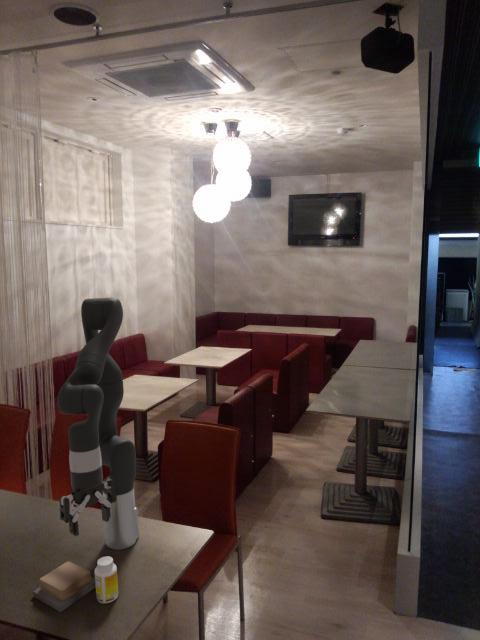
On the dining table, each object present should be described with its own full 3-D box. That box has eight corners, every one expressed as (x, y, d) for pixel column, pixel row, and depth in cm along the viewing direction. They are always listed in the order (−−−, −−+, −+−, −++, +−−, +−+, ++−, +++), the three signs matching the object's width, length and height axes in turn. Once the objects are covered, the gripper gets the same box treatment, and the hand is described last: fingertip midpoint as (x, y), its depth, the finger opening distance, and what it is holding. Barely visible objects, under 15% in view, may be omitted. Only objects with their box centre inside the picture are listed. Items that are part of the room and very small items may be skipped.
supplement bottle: (121, 590, 134) (119, 554, 133) (114, 605, 129) (111, 568, 127) (101, 589, 135) (98, 553, 134) (92, 604, 130) (90, 566, 128)
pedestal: (71, 571, 143) (70, 556, 142) (98, 585, 137) (97, 569, 136) (33, 596, 133) (32, 580, 132) (60, 612, 127) (59, 595, 126)
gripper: (102, 452, 132) (107, 511, 134) (50, 470, 122) (56, 534, 124) (119, 459, 127) (123, 521, 129) (67, 478, 117) (72, 545, 119)
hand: (90, 527), depth 127 cm, fingers open, 8 cm apart
